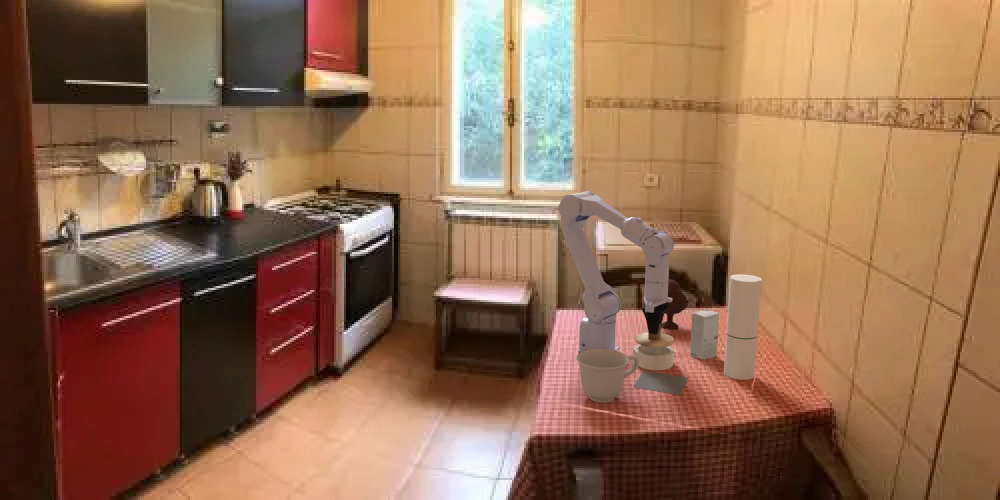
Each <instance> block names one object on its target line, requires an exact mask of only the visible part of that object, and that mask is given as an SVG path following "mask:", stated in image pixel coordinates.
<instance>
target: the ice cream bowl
mask: <svg viewBox="0 0 1000 500" xmlns="http://www.w3.org/2000/svg"><path fill="white" fill-rule="evenodd" d="M667 297H669V298H672V302H668V303H669V306H668V307H667V309H666V311H665V314H664V315H666V321H663V322H662V325H661V329H663V330H670V331H671V330H678V329H679V328H678V327H679V324H677V323H675V322H674V319H673V318H674V315H677V314H680V313H682V312H683V311H684V310H686V309H687V307H688V305H689V301H690V296H689V295H686V294H685V293H684V292H683V291H682V288H681V286H680V284H679V283H678V282H677V281H676V280H675V279H668V296H667Z"/></svg>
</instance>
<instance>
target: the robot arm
mask: <svg viewBox="0 0 1000 500" xmlns="http://www.w3.org/2000/svg"><path fill="white" fill-rule="evenodd" d="M557 210H558V212H559V215H560V223H561V224H560V229H561V233H562V235H563V238H564V240H565V242H566V244H567V247H568V250H569V252H570V255H571V258H572V260H573V263H574V265H575V267H576V271H577V272H578V275H579V277H580V280H581V282H582V285H583V287H584V292H583V294H582V298H581V299H582V302H583V310H584V315H585V316H586V317H583V318H581V321H580V325H579V332H578V334H579V337H578V339H579V340H578V341H579V343H578V345H579V346H578V350H577V351H578V353H581V352H583V351H586V350H591V349H609V350H615V351H618V349H619V348H620V346H619V345H616V325H617V323H616V322H617V321H616V320H617V314H618V313H619V312H620V310H621V307H622V302H621V299H620V298H619V296H618V295H617V294H616V293H615V292H614V290H613V287H612V286H611V285H609V284H608V283H606V282H605V281H604V278H603V276H602V273H601V270H600V268H599V266H598V264H597V261H596V259H595V256H594V254H593V251H592V249H591V247H590V244H589V241H588V239H587V237H586V234H585V232H584V227H585V225H586V223H587V221H588V220H589V219H590V218H591V216H592V217H593V216H596V217H598V218H599V219H601V220H602V221H605V222H607V223H609V224H611V225H612V226H614V227H616V228H618V229H619V230H620V234H621V236H622V237H623V238H625V239H627V240H628V241H630V243H631V242H632V243H633V244H634V245H635V246H638V247H639V248H641V250H642V253H643V254H644V256H645V276H644V277H645V278H644V296H643V301H644V304H645V305H642V306H641V311H642V313H643V316H644V319H645V322H646V327H647V328H646V329H647V332H649V334H657V333H658V330H659V325H660V323H661V325H662V323H663V322H664V321H663V320H664V316H665V315H666V314H665V311H666V309H667V307H668V306H669V303H668V302H672V298H669V297H667V296H668V280H669V278H670V276H669V274H670V272H669V271H670V255H671V254H670V253H671V252H672V251H673V250H674V246H675V241H674V239H673V236H671V235H670V234H669V233H668V232H667V231H658V229H657V228H656V227H652V226H650V225H648V224H646V223H645V222H643V219H642V218H641V217H640V216H638V217H635V216H632V217H627V216H625V215H624V214H622V213H621V212H620V211H619V210H617V209H616V208H614V207H612V205H610V204H608V203H606V202H605V201H604V200H602V198H601V196H599V195H597V194H594V193H593V192H592V191H589V190H585V191H582V192H578V193H569V194H565V195H564V196H563V197H562V198H561V200H560V202H559V204H558V207H557Z"/></svg>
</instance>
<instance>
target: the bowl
mask: <svg viewBox="0 0 1000 500" xmlns="http://www.w3.org/2000/svg"><path fill="white" fill-rule="evenodd" d="M632 349H633V350H632V355H635V356H636V357H637V358H638V362H639V365H638V368H642V369H645V370H648V371H663V370H668V369H670V368H673V366H674V363H675V361H674V360H675V349H674V348H672V346H667V347H661V348H654V347H646V346H642V345H640V344H638V343H637V344H635V345H634V346H633V348H632ZM632 362H633V364H634V360H633V359H632Z"/></svg>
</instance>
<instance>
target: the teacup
mask: <svg viewBox="0 0 1000 500" xmlns="http://www.w3.org/2000/svg"><path fill="white" fill-rule="evenodd" d="M575 360H576V361H577V363H578V366H579V373H580V383H581V386H582V389H583V392H585V394H587V395H588V396H589V399H590V400H591V401H593V402H595V403H604V404H605V403H610V402H612V401H614V400H615V397H616V396H618V395H620V393H621V392H622V389H623V387H624V381H625V379H626V378H627V377H629V376H631V375H633V374H634V373H635V372H636V371H637V370H638V368H639V367H638V365H639V362H638V358H637V357H636V356H635V355H633V354H628V355H626V354H625V353H623V352H621V351H619V350H617V351H615V350H609V349H591V350H586V351H583V352H578V354H577V355H576V356H575ZM631 360H632V361H633V360H634V363H633V365H632V366H631V367H630V368H629V369H628V370H627V369H626V368H627V367H628V366H629V365H630V361H631Z"/></svg>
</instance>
